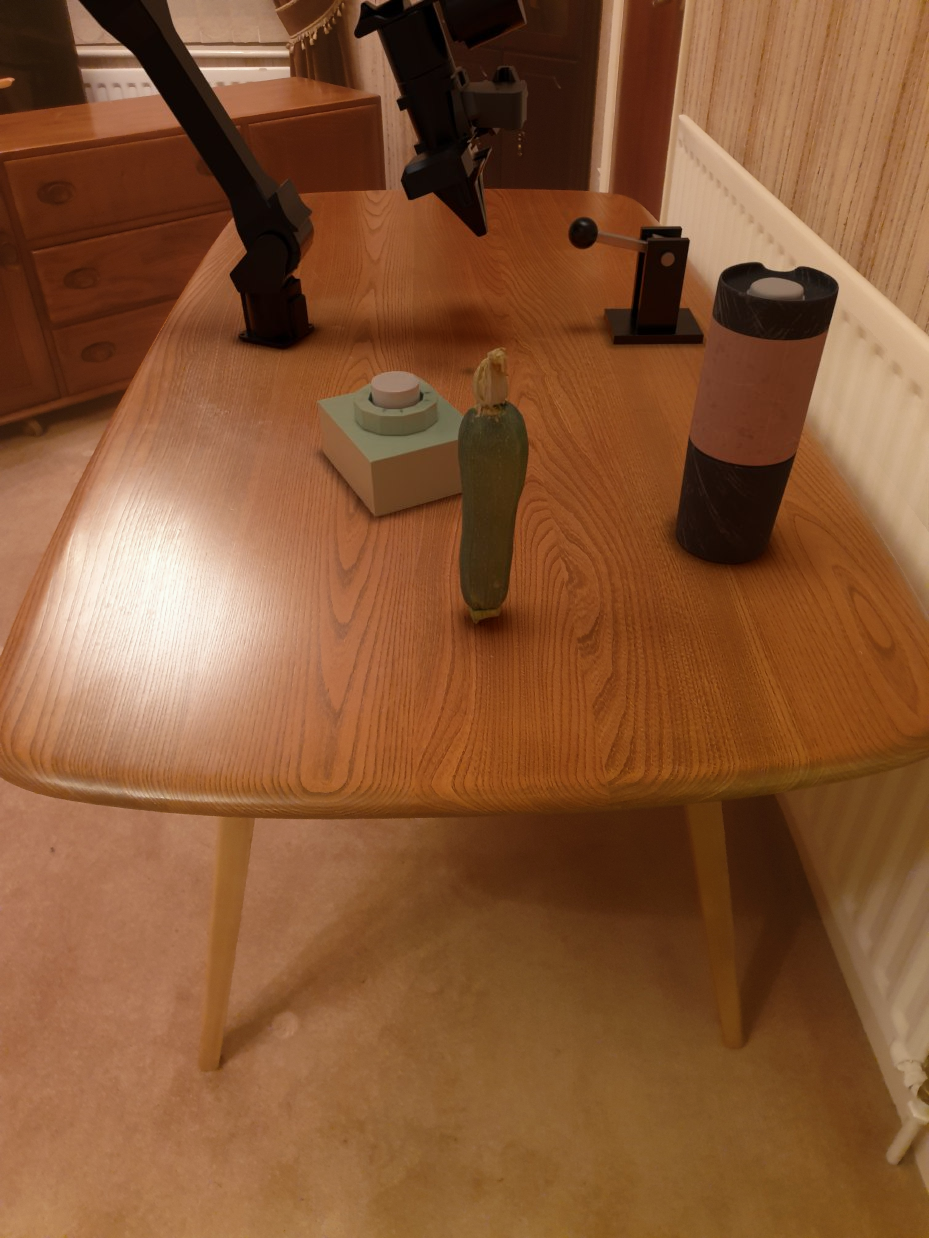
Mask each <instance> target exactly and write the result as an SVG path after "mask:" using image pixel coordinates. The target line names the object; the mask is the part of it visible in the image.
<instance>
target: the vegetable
mask: <svg viewBox="0 0 929 1238" xmlns="http://www.w3.org/2000/svg"><path fill="white" fill-rule="evenodd" d="M506 359H508V360H510V359H511V358H510V357H509V356H508V353H507V348H506V347H496V348H494V349H493V350H491V351H488V352H487V357H486V358H484V359H482V360H481V363H480V364H479V365H478V366H477V368H476V370H475V371H474V373H473V377H472V382H471V392H472V395H473V398H474V399H475V400H476V403H474V404H473V405H472V406H471V407H470V408H469V409H467V411H466V412H465V414H463V416H464V417H463V419H462V422H461V425H460V428H459V432H458V461H459V468H460V478H461V486H462V493H461V497H462V498H461V500H462V504H461V508H462V509H461V517H462V518H461V534H460V535H461V536H460V543H459V557H458V558H459V559H458V568H459V569H458V570H459V586H460V592H461V595H462V598H463V600H464V602H465V604H466V605H467V606H468V610H469V613H470V616H471V619H472V621H473V623H474V624H478V623H479V621H481V620H484V619H486V618H487V619H488V618H495V617H496V618H497V617H500V613H501V609H502V607H501V606H502V604H503V603H504V602H505V601H506V599H507V597H508V594H509V587H510V578H511V571H512V563H513V556H514V544H515V543H514V541H515V539H514V537H515V531H516V530H515V529H516V521H517V513H518V509H519V503H520V499H521V497H522V494H523V491H524V487H525V483H526V476H527V471H528V462H529V455H530V450H529V449H530V442H529V436H528V430H527V426H526V422H525V419H524V416H523V414H522V413H521V412H520V410H519V409H518V407H516V406H515V405H514V404H513V403H511V402H510V401H508V400H507V399H508V398H509V392H510V389H509V388H510V387H509V382H508V378H507V377H510V375H509V374H508V371H507V369H508V368H507V365H508V361H507V360H506Z"/></svg>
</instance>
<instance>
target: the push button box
mask: <svg viewBox="0 0 929 1238" xmlns="http://www.w3.org/2000/svg"><path fill="white" fill-rule="evenodd" d="M418 378H419V382H420V402H419V403H418V404H416V405H415V406H412V407H407V408H403V409H384V408H381V407H377V406H374V404H373V402H372V391H371V382H369V383H366V385H364V386H362V387H361V388H359V389H358V390H357V389H356V391H354V392H349V393H345V394H344V393H343V394H340V395H335V396H331V397H327V398H323V399H318V400H316V403H317V404H316V405H317V411H318V412H317V413H318V421H319V428H320V435H321V443H322V451H323V454H324V455H325V457H326V458H327V460H328V461H329V462H330V463H331V464H332V465H333V467H334V468H335V469H336V470H337V472H338V473H339V474H340V475H341V477H342V478H343V479H344V480H345V482H346V483H347V484H348V485H349V487H350V488H351V489H352V490H353V492H354V493H355V494H356V495H357V496H358V498H359V499H360V500H361V501H362V503H363V504H364V505H365V506H366V508H367V509H368V510H369V511H370V512H371V514H372V515H373V517H375V518H379V517H382V516H385V515H388V514H392V513H395V512H400V511H402V510H403V511H404V510H406V509H410V508H413V507H416V506H420V505H424V504H428V503H430V502H434V501H437V500H441V499H445V498H448V497H451V496H455V495H458V494H462V486H461V478H460V468H459V461H458V432H459V428H460V425H461V422H462V419H463V417H464V414H462V413H461V412H460V411H459V410H458V409H457V408H455V407H454V406H453V405H452V404H451V403H450V402H449V401H448V400H446V398H444V397H443V396H442V395H441V394H440V393H439V392H438V390H436V389H435V388H434V387H432V385H431V384H429V383H427V382H426V381H425V380H424V379H423V378H422V377H418Z"/></svg>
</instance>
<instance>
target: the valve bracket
mask: <svg viewBox="0 0 929 1238" xmlns="http://www.w3.org/2000/svg"><path fill="white" fill-rule="evenodd" d="M652 234H657V235H661V236H666V237H670V238H651V236H652ZM682 234H683V227H682V225H667V226H666V225H665V226H663V225H662V226H661V225H659V226H658V225H657V226H656V225H654V226H651V225H650V226H649V225H648V226H647V225H646V226H640V231H639V238H638V239H641V240H645V241H647V243H646V250H645V253H643V252H638V251H637V255H636V262H635V263H636V264H635V269H634V270H635V272H634V279H633V289H632V297H631V304H630V308H604V310H603V311H604V312H603V320H604V323H605V325H606V328H607V330H608V333H609V336H610V339H611V342H612V345H615V346H617V345H618V346H619V345H625V346H626V345H703V343H704V336H705V334H704V332H703V331H702V329H701V327H700V325H699V323H698V321H697V320H696V318H695V316H694V314H693V312H692V311H691V309H690V308H689V307H681V302H682V301H681V300H682V295H683V288H684V282H685V275H686V269H687V263H688V258H689V257H688V256H689V252H690V251H689V250H690V243H691V239H690V238H689V237H682Z"/></svg>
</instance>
